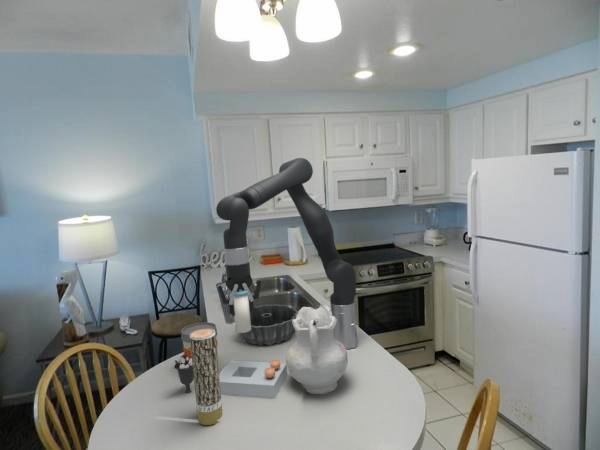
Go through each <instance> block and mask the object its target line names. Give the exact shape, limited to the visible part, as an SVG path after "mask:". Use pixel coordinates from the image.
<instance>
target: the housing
mask: <svg viewBox="0 0 600 450" xmlns="http://www.w3.org/2000/svg"><path fill="white" fill-rule="evenodd" d="M266 368H270V362H264V361H263V362H262V361H259V362H258V361H241V360H240V361H239V360H229V362H228V363H227V364H226V365H225V366H224V367H223V369H221V371H219V379H220V390H221V395H225V396H237V397H238V396H239V397H250V398H251V397H253V398H264V399H265V398H267V399H276V397H277V395H278V393H279V391H280V390H281V388H282V386H283V384H284V382H285V381H286V378H287V377H288V367H287V363H281V362H280V368H278V369H277V371H275V376H274V377H272V379H269V378H268V377H265V371H264V370H265V369H266Z"/></svg>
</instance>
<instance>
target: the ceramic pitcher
mask: <svg viewBox="0 0 600 450" xmlns="http://www.w3.org/2000/svg"><path fill="white" fill-rule="evenodd" d="M336 322H337V319H336V318H335V317H334V316H333V315H332V311H331V307H330V306H328V305H327V304H319V307H318V308H316V309H314V308H312V307H310V306H302V307H301V308H300V309H299V311H298V314H297V316H296V319H293V320H292V324H293V326H294V328H295V332H296V335H297V336H296V337H297V338H296V341H295V342H293V344H292V345H290V346H289V348H288V350H287V352H286V355H285V362H286V363H285V364H287V371H288V372H289V373H290V375H291V377H292V378H293V379H294V380H295V381H296V382H298V383H300V384H302V386H303V387H304V388H305V389H304V391H305V392H306V393H308V394H311V395H327V394H329V393H331V392H333V391H334V390H336V389H337V388H338V382H337V381H339V380H340V379H341V377H343V375H344V373H345V372H346V370H347V367H348V363H349V359H348V358H349V357H348V350H347V349H346V348H345V347H344V345H343V344H342V343H341V342H339V341H337V340H336V339H335V338H334V337H333V331H334V327H335V325H336Z"/></svg>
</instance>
